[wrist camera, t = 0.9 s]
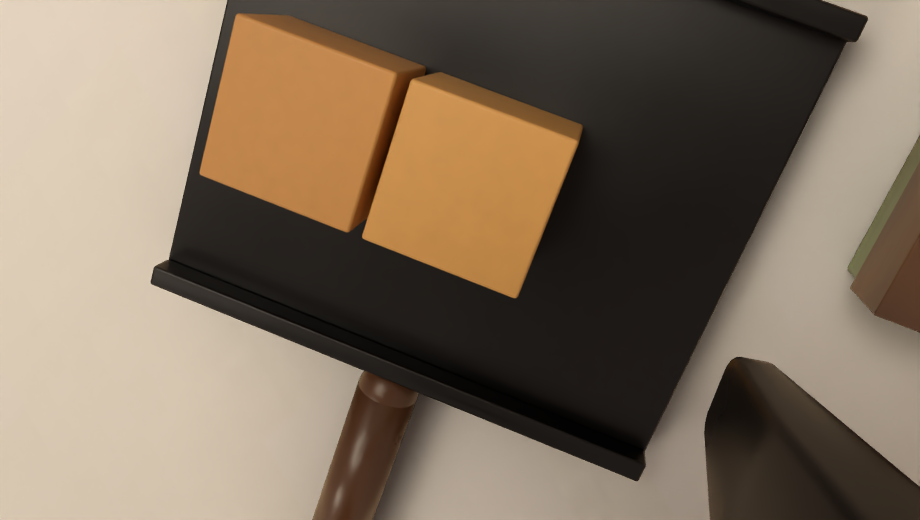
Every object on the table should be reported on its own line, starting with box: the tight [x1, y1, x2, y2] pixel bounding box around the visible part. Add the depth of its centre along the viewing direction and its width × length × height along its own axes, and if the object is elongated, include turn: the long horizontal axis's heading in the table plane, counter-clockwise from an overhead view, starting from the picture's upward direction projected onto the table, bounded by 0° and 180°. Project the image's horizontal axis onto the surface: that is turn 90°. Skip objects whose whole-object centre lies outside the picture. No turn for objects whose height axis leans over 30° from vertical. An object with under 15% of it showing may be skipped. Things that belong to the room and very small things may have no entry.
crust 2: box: [362, 72, 583, 298], centre depth 19 cm, size 4×4×3 cm
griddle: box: [151, 0, 868, 520], centre depth 22 cm, size 22×15×2 cm
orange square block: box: [200, 13, 426, 232], centre depth 20 cm, size 4×4×3 cm
